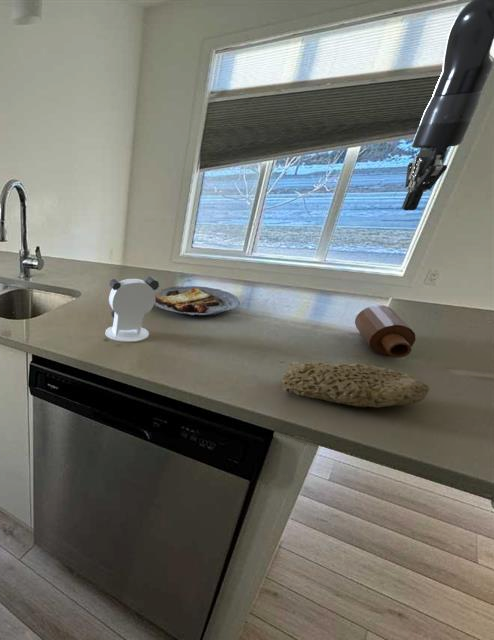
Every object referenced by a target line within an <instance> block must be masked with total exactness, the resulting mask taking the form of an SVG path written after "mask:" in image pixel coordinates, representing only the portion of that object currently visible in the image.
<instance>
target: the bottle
mask: <svg viewBox="0 0 494 640" xmlns="http://www.w3.org/2000/svg"><path fill="white" fill-rule="evenodd" d="M354 326H355V328H356V329H357V331H358V332H359V333H360V335H361V337H362V338H363V340H364V341H365V342H366V344H367V345H368V346H369V347H370V349H371V350H372V352H373V353H375V354H378V355H380V356H387V357H392V358H396V359H397V358H398V359H399V358H405V357H406V356H408V355H409V354H410V353H411V351H412V349H413V348H412V347H413V345H414V344H415V342H416V333H415V332H414V330H413V329H412V328H411V327H410V326H409V325H408V324H407V322H405V321H404V320H403V319H402V317H400V315H398V314H397V312H395V311H394V309H392V308H391V307H389V306H388V305H387V306H386V305H382V304H381V305H380V304H379V305H378V304H375V305H371V306H368V307H365V308H364V309H362V310H361V311H360V312H359V313H358V314H357V315H356V316H355V320H354Z"/></svg>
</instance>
